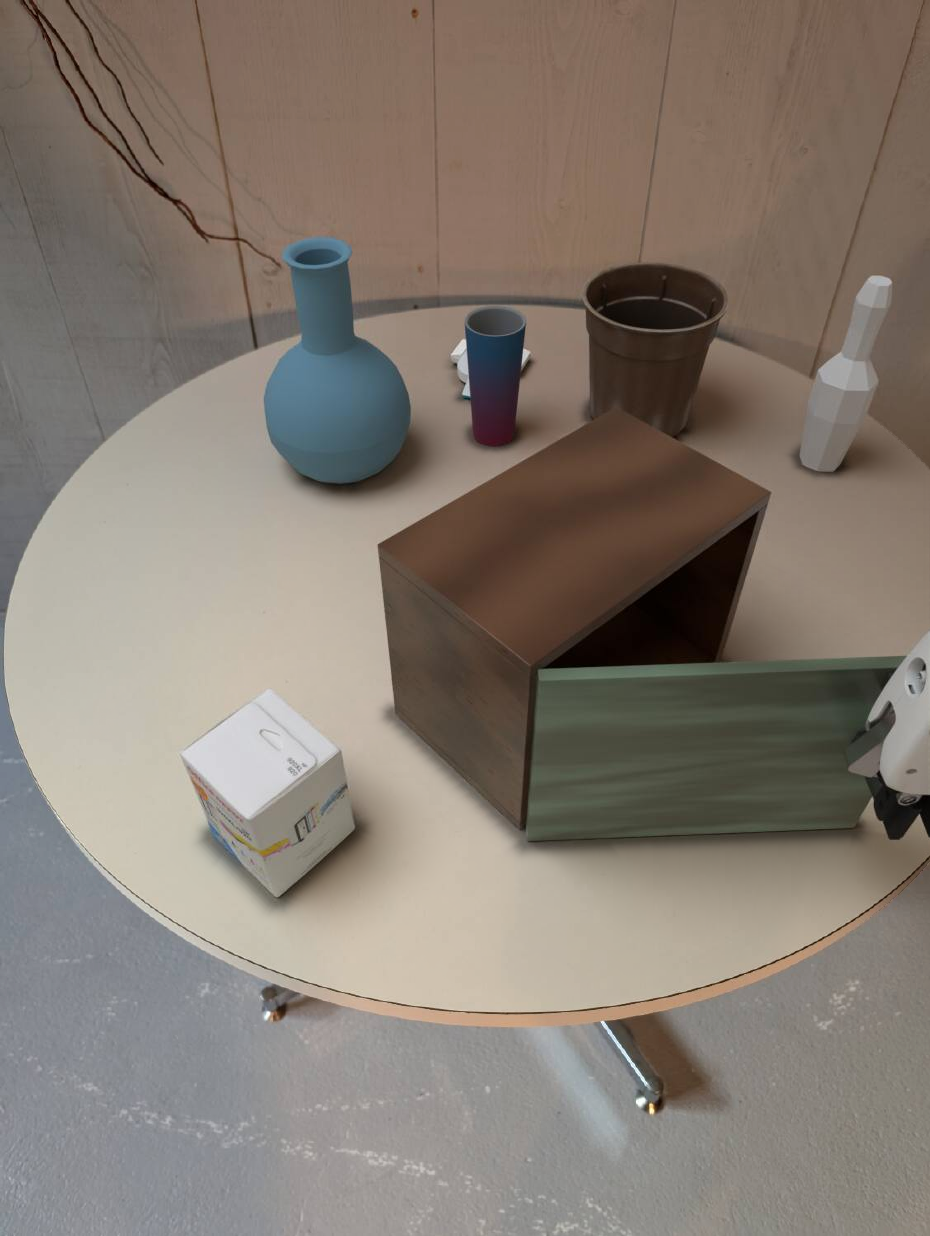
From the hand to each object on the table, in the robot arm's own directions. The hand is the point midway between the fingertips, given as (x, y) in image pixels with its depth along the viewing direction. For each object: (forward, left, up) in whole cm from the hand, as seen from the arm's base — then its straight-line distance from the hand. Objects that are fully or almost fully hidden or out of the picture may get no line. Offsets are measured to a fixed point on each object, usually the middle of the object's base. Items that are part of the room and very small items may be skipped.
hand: (907, 819), depth 58 cm
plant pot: (+5, -66, -14) cm, 67 cm away
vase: (+41, -59, -14) cm, 73 cm away
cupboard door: (+10, -4, -13) cm, 17 cm away
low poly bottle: (-15, -56, -14) cm, 59 cm away
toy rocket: (+23, -78, -14) cm, 82 cm away
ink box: (+43, -9, -14) cm, 46 cm away
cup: (+23, -63, -14) cm, 68 cm away
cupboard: (+19, -23, -14) cm, 32 cm away
